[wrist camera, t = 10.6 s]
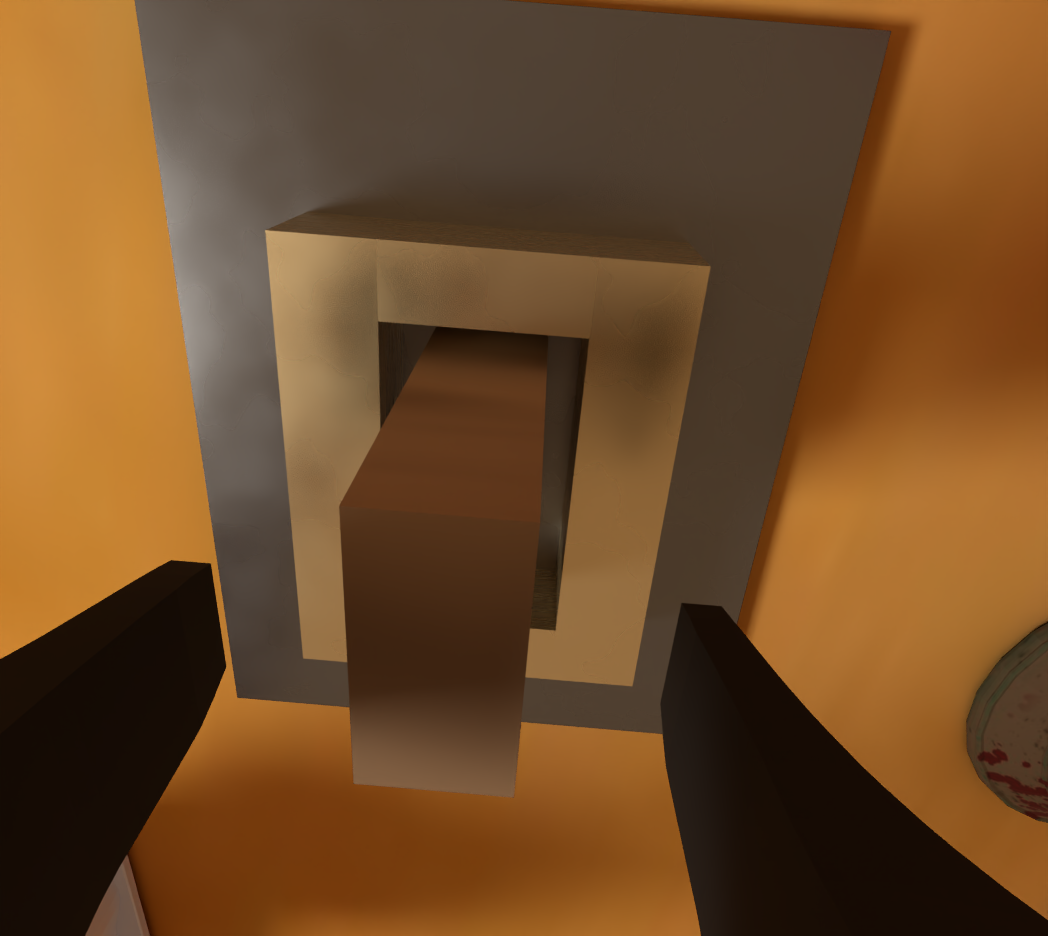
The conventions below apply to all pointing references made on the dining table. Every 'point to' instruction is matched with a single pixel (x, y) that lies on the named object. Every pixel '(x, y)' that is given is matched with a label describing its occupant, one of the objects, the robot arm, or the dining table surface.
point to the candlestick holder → (1014, 727)
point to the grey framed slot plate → (500, 292)
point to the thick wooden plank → (446, 567)
